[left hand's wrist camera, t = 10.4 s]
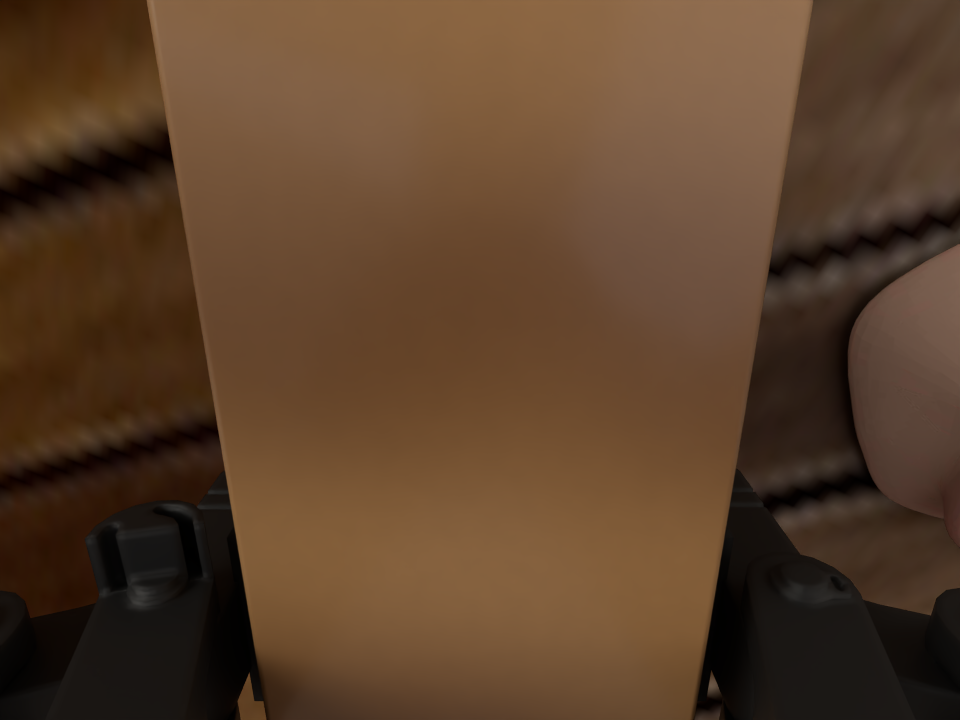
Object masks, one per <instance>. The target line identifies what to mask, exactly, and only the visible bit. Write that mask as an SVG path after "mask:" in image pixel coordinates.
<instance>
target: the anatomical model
mask: <svg viewBox="0 0 960 720" xmlns="http://www.w3.org/2000/svg"><path fill="white" fill-rule="evenodd" d="M848 379H849V387H850V395H851V403H852V410H853V418H854V424H855V429H856V434H857V438H858V441H859V444H860V447H861V450H862V452H863V455H864V458H865V461H866V464H867V467H868V470H869V472H870V474H871V477H872V479H873V481H874V482H875V484H876V486H877V487H878V488H879V490H880V491H881V492H882V493H883V494H884V495H885V496H887V497H888V498H889V499H891V500H892V501H894V502H896V503H898V504H900V505H902V506H904V507H906V508H909V509H912V510H915V511H918V512H921V513H924V514H927V515H930V516H934V517H938V518H942V519H944V521H945V525H946V529H947V531H948V534H949V536H950V537H951V539H952V540H953V541H954V542H955V543H956V545H957V546H958V547H959V548H960V244H958V245H956V246H954V247H952V248H950V249H948V250H946V251H944V252H942V253H941V254H939V255H937V256H935V257H933V258H931V259H929V260H927V261H925V262H924V263H922V264H921V265H919V266H917V267H916V268H914V269H912V270H911V271H909V272H908V273H906V274H904V275H903V276H901V277H899V278H898V279H897V280H895V281H894V282H892V283H891V284H889V285H888V286H887V287H885V288H884V289H883V290H882V291H881V292H880V293H878V294H877V295H876V296H875V297H874V298H873V299H872V300H871V301H870V302H869V303H868V304H867V305H866V307H865V308H864V309H863V310H862V312H861V313H860V315H859V316H858V318H857V320H856V322H855V324H854V326H853V328H852V332H851V335H850V339H849V346H848Z"/></svg>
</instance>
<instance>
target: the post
mask: <svg viewBox="0 0 960 720" xmlns="http://www.w3.org/2000/svg"><path fill="white" fill-rule="evenodd" d="M147 5H148V11H149V17H150V23H151V29H152V35H153V41H154V47H155V53H156V59H157V65H158V71H159V77H160V83H161V89H162V95H163V101H164V107H165V113H166V119H167V125H168V131H169V137H170V143H171V149H172V155H173V161H174V167H175V173H176V179H177V185H178V191H179V197H180V203H181V209H182V215H183V221H184V227H185V233H186V239H187V245H188V251H189V257H190V263H191V269H192V275H193V281H194V287H195V293H196V299H197V305H198V311H199V317H200V323H201V329H202V335H203V341H204V347H205V353H206V359H207V365H208V371H209V377H210V383H211V389H212V395H213V401H214V407H215V413H216V419H217V425H218V431H219V437H220V443H221V449H222V455H223V461H224V467H225V473H226V479H227V485H228V491H229V497H230V503H231V509H232V515H233V521H234V527H235V533H236V539H237V545H238V551H239V557H240V563H241V569H242V575H243V581H244V587H245V593H246V599H247V605H248V611H249V617H250V623H251V629H252V635H253V641H254V647H255V653H256V659H257V665H258V671H259V677H260V683H261V689H262V695H263V701H264V707H265V713H266V719H267V720H694V718H695V712H696V706H697V700H698V694H699V687H700V681H701V675H702V669H703V663H704V657H705V651H706V645H707V639H708V633H709V627H710V621H711V615H712V609H713V603H714V597H715V591H716V585H717V579H718V573H719V567H720V561H721V555H722V549H723V543H724V537H725V531H726V525H727V518H728V512H729V506H730V500H731V494H732V488H733V482H734V476H735V470H736V464H737V458H738V452H739V446H740V440H741V434H742V428H743V422H744V416H745V410H746V404H747V398H748V392H749V386H750V380H751V374H752V368H753V362H754V356H755V349H756V343H757V337H758V331H759V325H760V319H761V313H762V307H763V301H764V295H765V289H766V283H767V277H768V271H769V265H770V259H771V253H772V247H773V241H774V235H775V229H776V223H777V217H778V211H779V205H780V199H781V193H782V186H783V180H784V174H785V168H786V162H787V156H788V150H789V144H790V138H791V132H792V126H793V120H794V114H795V108H796V102H797V96H798V90H799V84H800V78H801V72H802V66H803V60H804V54H805V48H806V42H807V36H808V30H809V24H810V17H811V11H812V5H813V0H147Z"/></svg>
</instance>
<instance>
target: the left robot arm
mask: <svg viewBox="0 0 960 720" xmlns="http://www.w3.org/2000/svg"><path fill="white" fill-rule="evenodd" d="M85 542H86V546H87V549H88V553H89V557H90V561H91V564H92V568H93V572H94V576H95V579H96V583H97V587H98V591H99V594H100V595H99V597H98V600H97V602H96V603H94V604H91V605H87V606H84V607H80V608H76V609H71V610H66V611H62V612H57V613H52V614H48V615H43V616H39V617H34V618H30V616H29V612H28V609H27V606H26V603H25V601H24V600H23V599H22V598H21V597H19V596H18V595H17V594H16V593H12V592H6V591H0V720H240V713H239V707H238V702H237V701H238V698H239V696H240V694H241V691H242V689H243V686H244V684H245V681H246V679H247V677H248V674H249V672H250V678H251V683H252V689H253V695H254V701H263V695H262V689H261V683H260V677H259V671H258V665H257V659H256V653H255V647H254V641H253V635H252V629H251V623H250V617H249V611H248V605H247V599H246V593H245V587H244V581H243V575H242V569H241V563H240V557H239V551H238V545H237V539H236V533H235V527H234V521H233V515H232V509H231V503H230V497H229V491H228V485H227V479H226V473H225V471H223V472H222V473H221V474H220V475H219V477H218V478H217V479H216V481H215V482H214V483H213V485H212V486H211V488H210V489H209V490H208V494H206V495H205V496H204V497H203V499H202V500H201V502H200V503H199V504H198V508H197V507H196V506H195V505H194V504H191V503H187V502H183V501H179V500H167V501H154V502H149V503H145V504H140V505H135V506H133V507H130V508H128V509H125V510H123V511H120V512H118V513H115V514H113V515H112V516H110V517H109V518H107V519H106V520H104V521H103V522H101V523H99V524H98V525H96V526H95V527H94V529H93V530H92V531H91V532H90V533H89V535H88V536H87V537H86V538H85ZM711 670H712V672H713V675H714V677H715V680H716V682H717V684H718V687H719V689H720V692H721V694H722V696H723V702H722V707H721V713H720V718H719V720H960V588H957V589H950V590H946V591H945V592H943V593H942V594H941V595H940V596H939V597H938V598H937V599H936V602H935V605H934V608H933V611H932V614H931V616H930V615H926V614H921V613H916V612H912V611H907V610H902V609H898V608H893V607H888V606H884V605H880V604H876V603H872V602H869V601H865V600H863V599H862V596H861V594H860V593H859V591H858V590H857V588H856V587H855V586H854V584H853V583H852V582H851V580H850V579H848V578H847V577H846V576H844V575H843V574H842V573H840V572H839V571H838V570H837V569H835V568H834V567H832V566H830V565H828V564H826V563H823V562H821V561H819V560H817V559H815V558H812V557H808V556H804V555H800V553H799V552H798V551H797V549H796V548H795V547H794V545H793V544H792V542H791V541H790V540H789V538H788V537H787V536H786V534H785V533H784V531H783V530H782V529H781V527H780V526H779V524H778V523H777V522H776V520H775V519H774V518H773V516H772V515H771V513H770V512H769V511H768V509H767V508H766V507H763V502H762V501H761V500H760V498H759V497H758V495H757V494H756V493H755V492H753V489H752V487H751V486H750V484H749V483H748V482H747V480H746V479H745V477H744V476H743V475H742V473H741V472H740V471H739V470H738V469H736V470H735V476H734V482H733V488H732V494H731V500H730V506H729V512H728V518H727V525H726V531H725V537H724V543H723V549H722V555H721V561H720V567H719V573H718V579H717V585H716V591H715V597H714V603H713V609H712V615H711V621H710V627H709V633H708V639H707V645H706V651H705V657H704V663H703V669H702V675H701V681H700V687H699V694H698V700H697V701H706V698H707V692H708V686H709V680H710V674H711Z"/></svg>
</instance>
